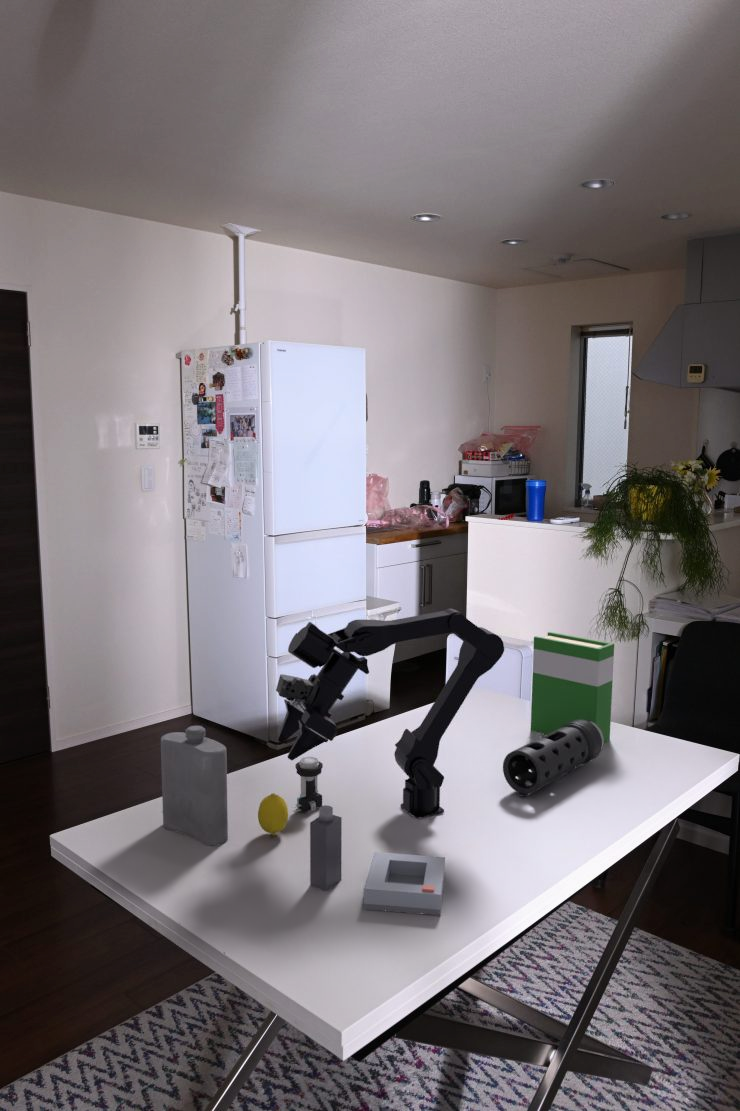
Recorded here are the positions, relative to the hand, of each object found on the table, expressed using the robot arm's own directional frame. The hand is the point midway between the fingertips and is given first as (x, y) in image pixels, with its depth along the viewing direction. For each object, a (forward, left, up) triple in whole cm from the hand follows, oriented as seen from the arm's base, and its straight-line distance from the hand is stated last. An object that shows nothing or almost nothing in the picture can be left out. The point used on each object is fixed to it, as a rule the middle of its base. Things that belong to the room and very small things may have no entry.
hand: (284, 750), depth 163 cm
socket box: (-8, +31, -15) cm, 35 cm away
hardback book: (-82, -13, -15) cm, 84 cm away
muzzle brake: (-61, +6, -16) cm, 63 cm away
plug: (+2, +22, -15) cm, 27 cm away
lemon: (+3, +2, -15) cm, 16 cm away
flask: (+15, -6, -15) cm, 22 cm away
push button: (-7, -5, -15) cm, 18 cm away
